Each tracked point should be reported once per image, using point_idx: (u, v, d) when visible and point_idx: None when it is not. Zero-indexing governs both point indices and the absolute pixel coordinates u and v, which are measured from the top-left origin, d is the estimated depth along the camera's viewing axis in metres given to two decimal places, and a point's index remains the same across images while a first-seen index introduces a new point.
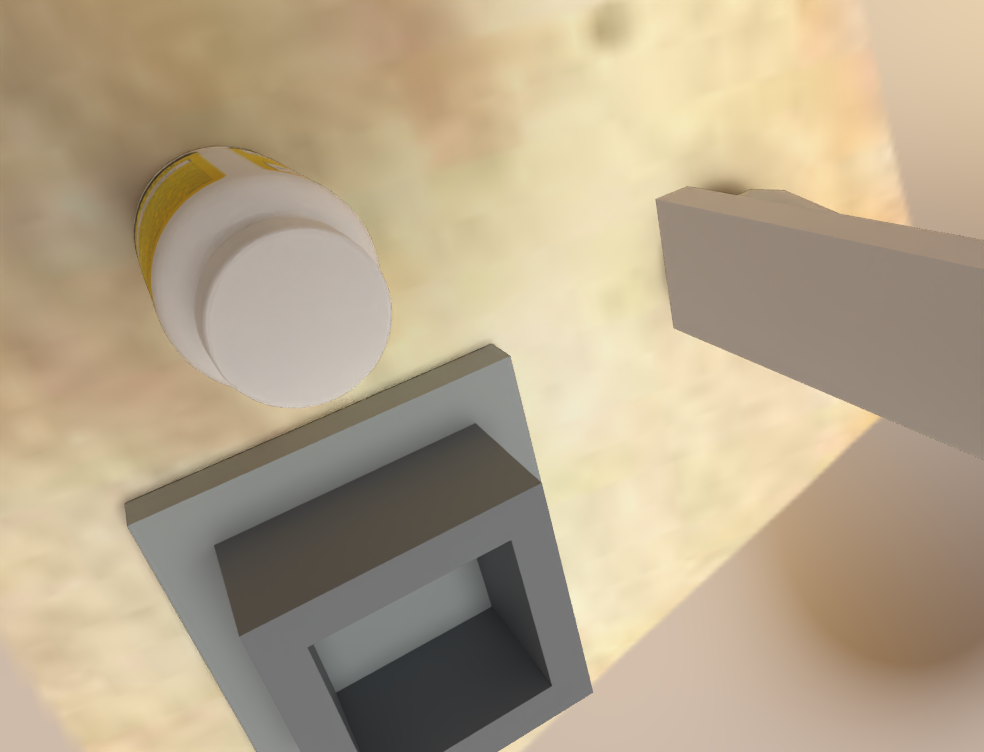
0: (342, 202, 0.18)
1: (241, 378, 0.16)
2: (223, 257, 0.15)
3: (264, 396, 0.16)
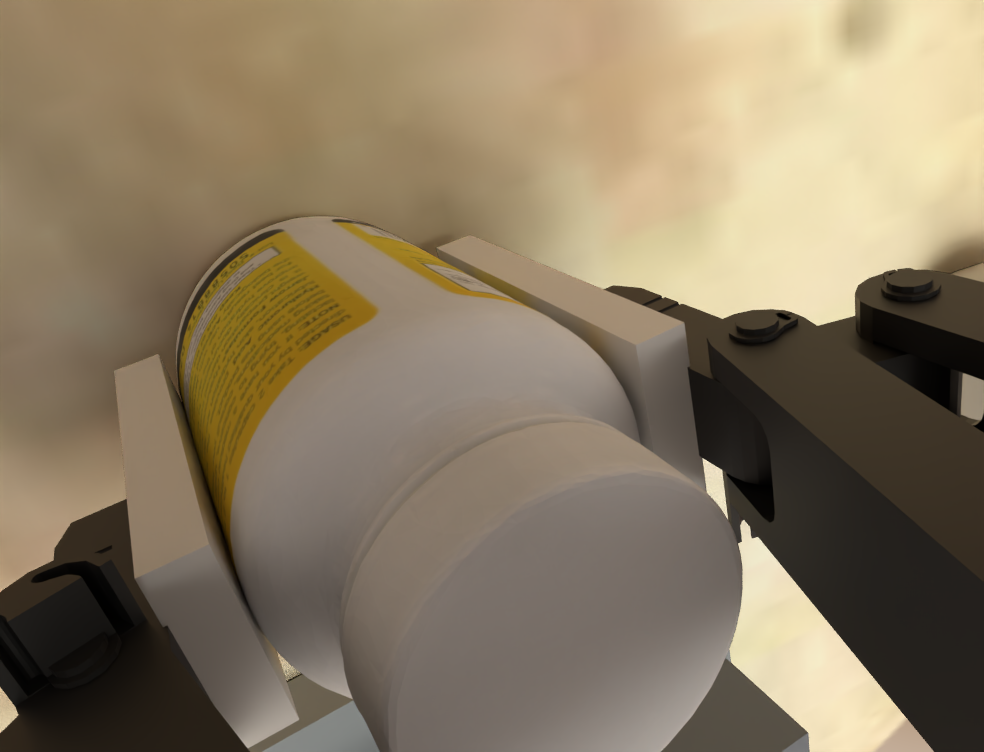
0: (595, 353, 0.09)
1: None
2: (426, 548, 0.07)
3: None
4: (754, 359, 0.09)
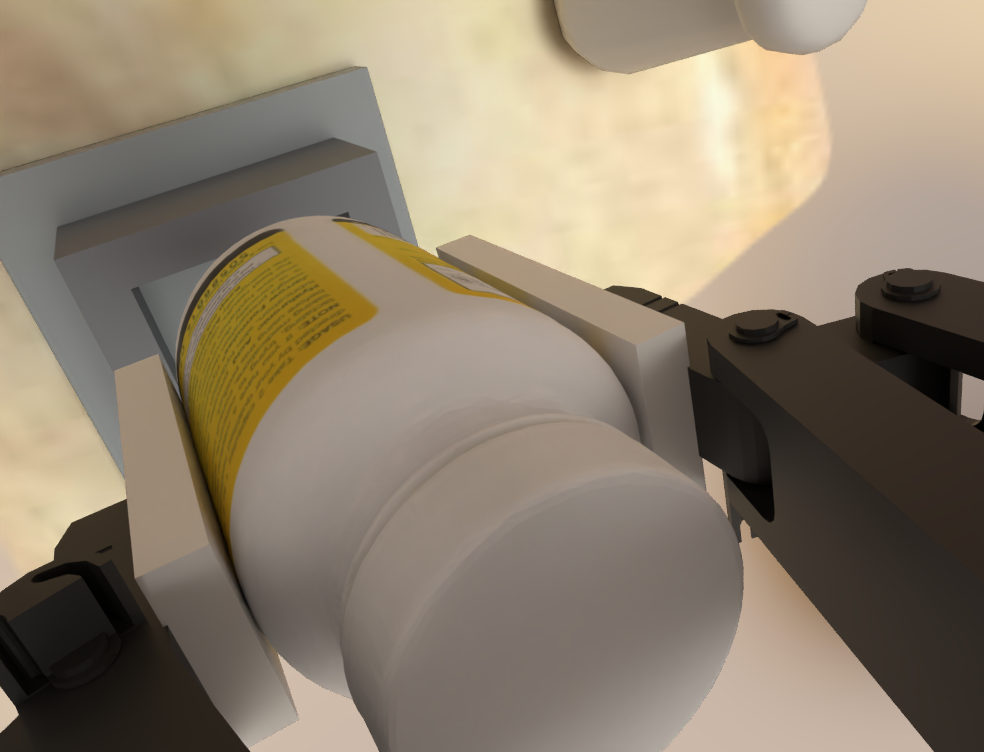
0: (596, 353, 0.09)
1: None
2: (426, 548, 0.07)
3: None
4: (754, 359, 0.09)
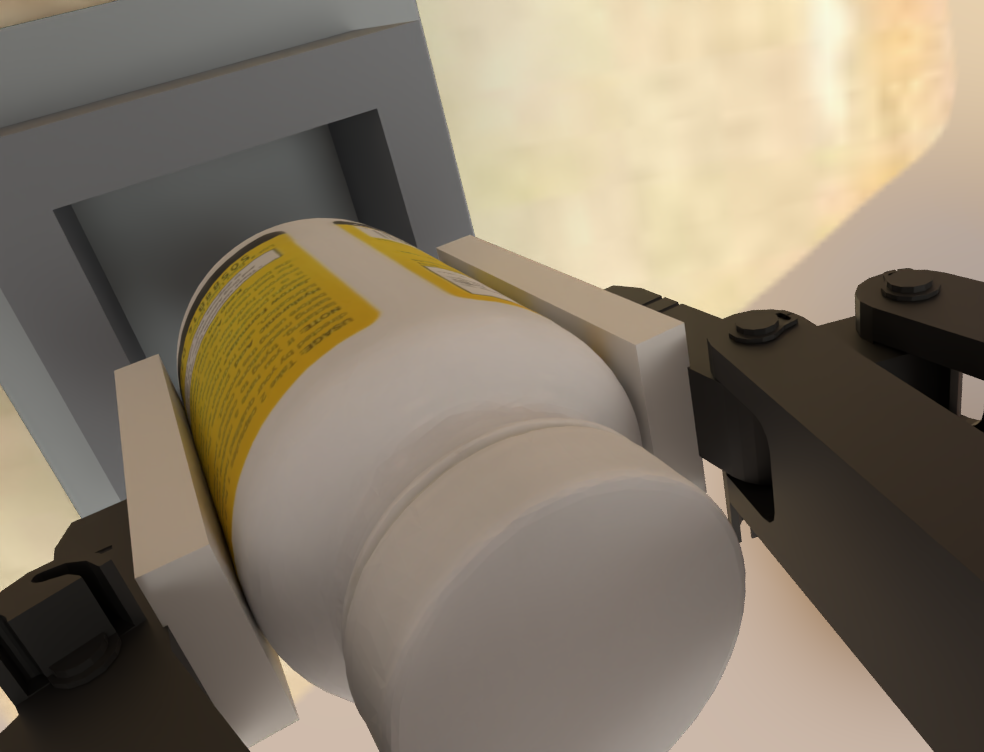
0: (597, 357, 0.09)
1: None
2: (429, 554, 0.07)
3: None
4: (753, 359, 0.09)
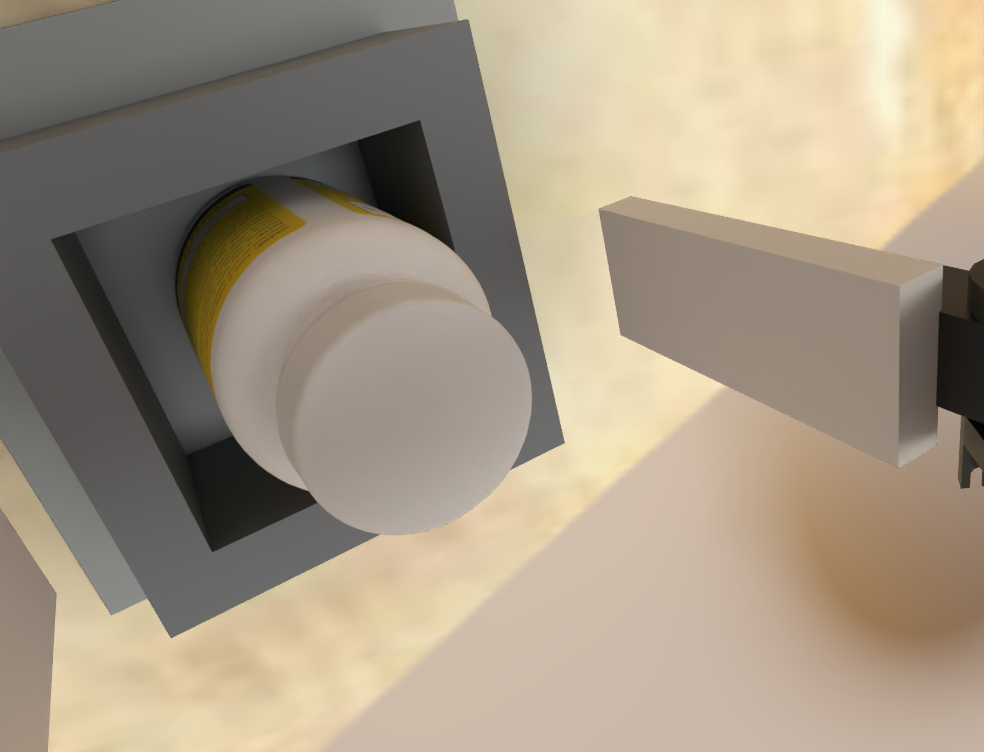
0: (454, 254, 0.14)
1: (341, 503, 0.12)
2: (320, 343, 0.11)
3: (369, 523, 0.12)
4: None
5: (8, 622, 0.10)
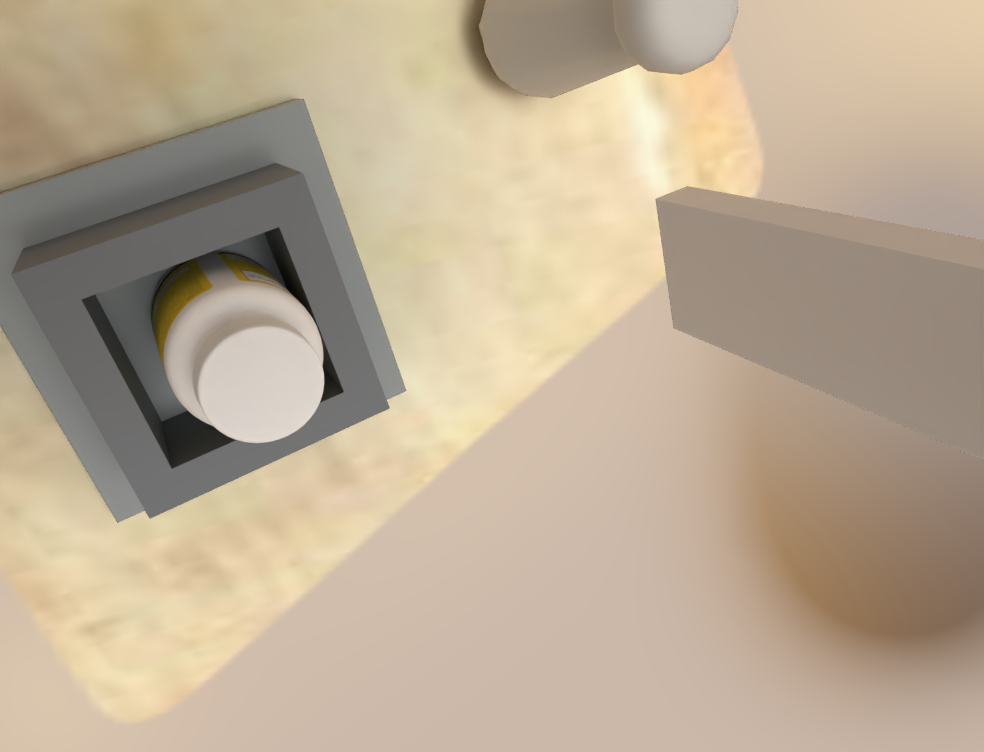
0: (292, 300, 0.27)
1: (224, 425, 0.25)
2: (209, 347, 0.24)
3: (239, 435, 0.25)
4: None
5: None
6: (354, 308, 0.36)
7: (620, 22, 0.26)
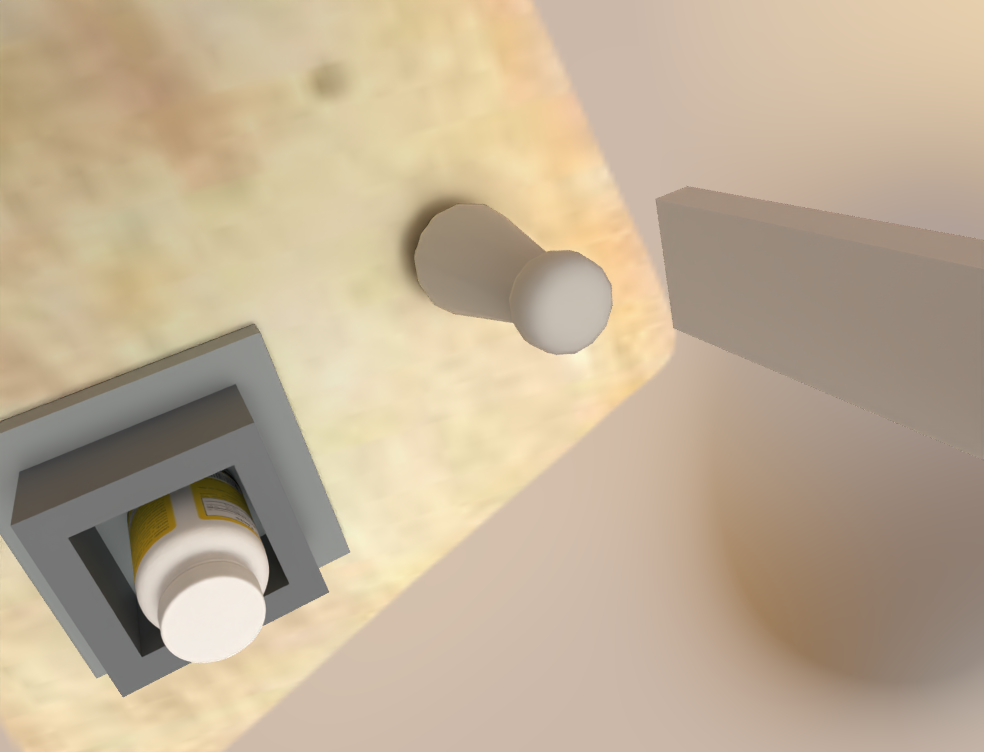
0: (242, 534, 0.33)
1: (182, 653, 0.30)
2: (171, 595, 0.30)
3: (195, 659, 0.31)
4: None
5: None
6: (304, 491, 0.41)
7: (514, 317, 0.32)
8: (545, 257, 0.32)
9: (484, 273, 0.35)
